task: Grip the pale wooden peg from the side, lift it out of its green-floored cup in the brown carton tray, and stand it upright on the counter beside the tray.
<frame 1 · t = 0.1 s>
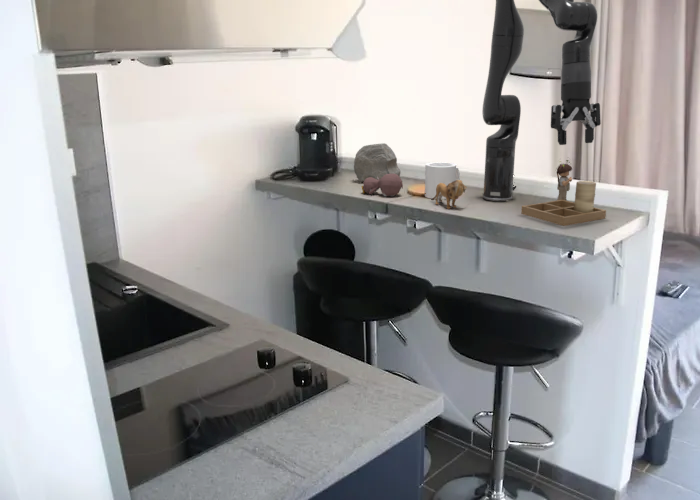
hand: (575, 143, 170), 22 cm above the table, tool pointing down, fingers open, 8 cm apart
mug: (442, 196, 214), on the table
toy: (562, 204, 201), on the table
stone: (376, 183, 236), on the table
lion figurine: (447, 206, 200), on the table
egg tray: (562, 218, 183), on the table
toy 2: (382, 195, 217), on the table
peg: (582, 217, 182), point 1 cm above the table, touching egg tray
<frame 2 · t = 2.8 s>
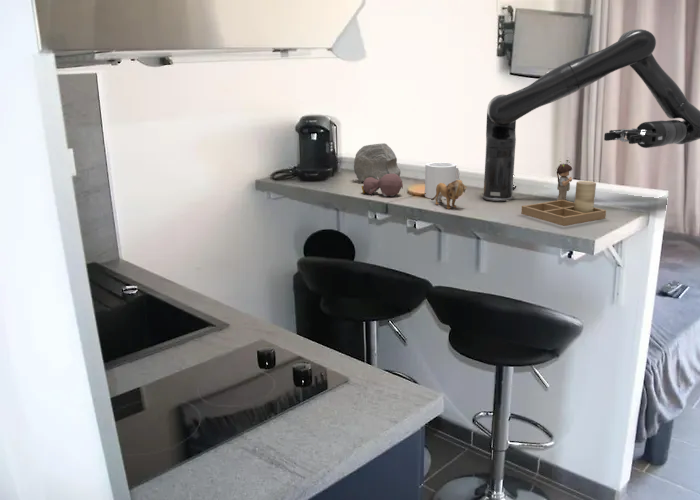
hand: (617, 138, 180), 22 cm above the table, tool horizontal, fingers open, 8 cm apart
nothing on the table moved.
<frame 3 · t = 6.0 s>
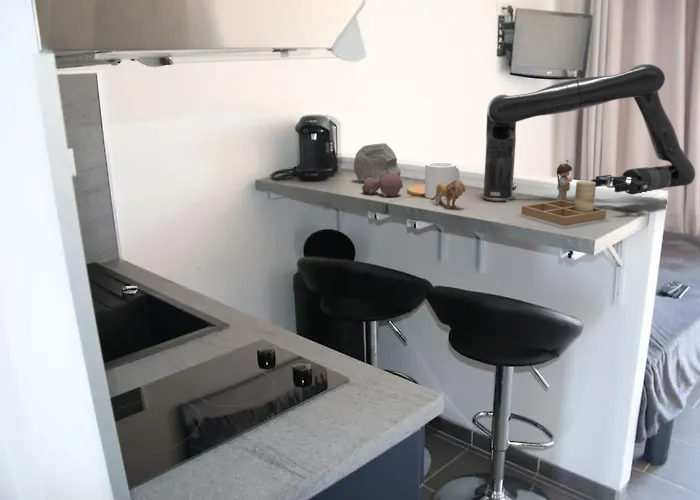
hand: (603, 186, 183), 9 cm above the table, tool horizontal, fingers open, 8 cm apart
nothing on the table moved.
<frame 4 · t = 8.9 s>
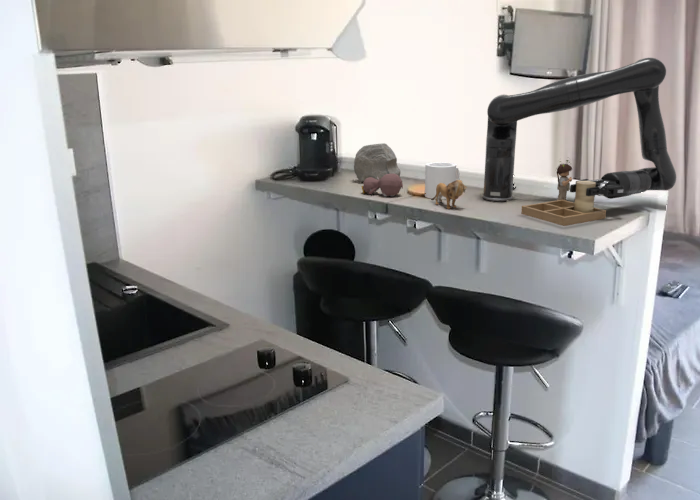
hand: (579, 190, 178), 9 cm above the table, tool horizontal, fingers closed on peg, 5 cm apart
peg: (582, 216, 182), point 1 cm above the table, touching egg tray, gripper
everything else where it was.
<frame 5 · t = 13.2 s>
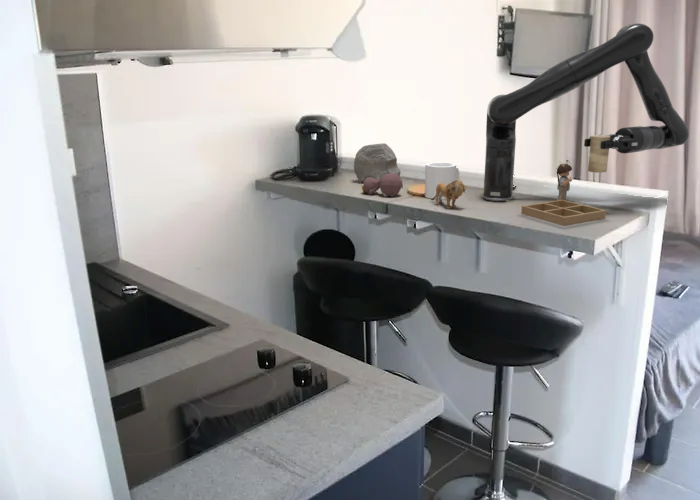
hand: (593, 144, 180), 21 cm above the table, tool horizontal, fingers closed on peg, 5 cm apart
peg: (597, 171, 184), point 13 cm above the table, touching gripper
everything else where it was.
when the fingers open (8 cm above the table, at t = 17.6 s): peg stays where it is, on the table.
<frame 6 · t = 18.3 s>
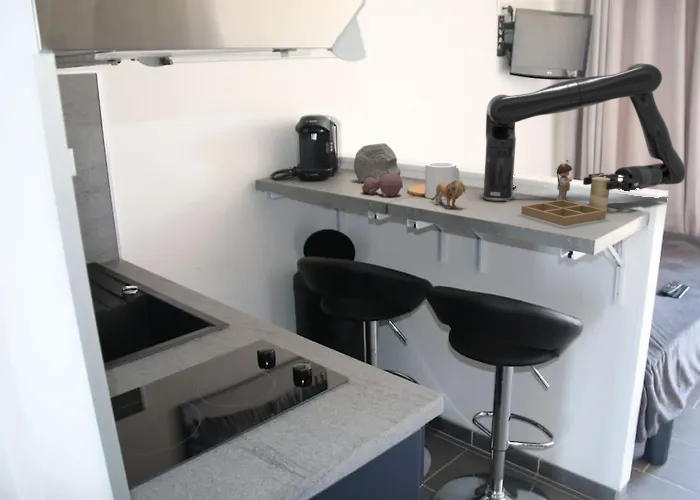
hand: (595, 183, 187), 9 cm above the table, tool horizontal, fingers open, 8 cm apart
peg: (597, 211, 191), on the table
everything else where it was.
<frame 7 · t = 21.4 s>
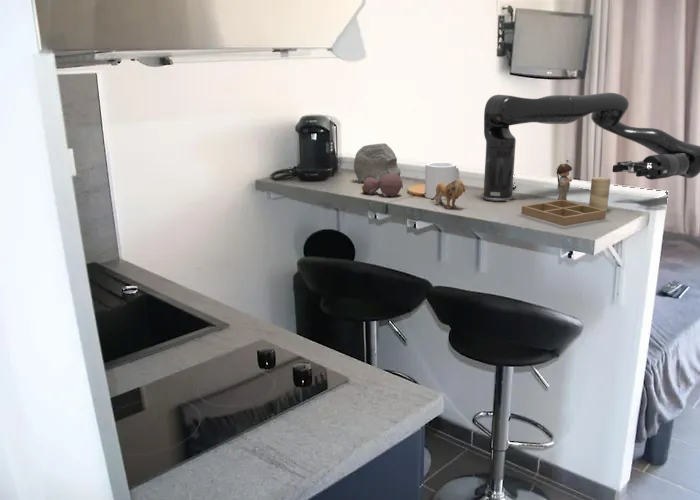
hand: (625, 170, 192), 11 cm above the table, tool horizontal, fingers open, 8 cm apart
nothing on the table moved.
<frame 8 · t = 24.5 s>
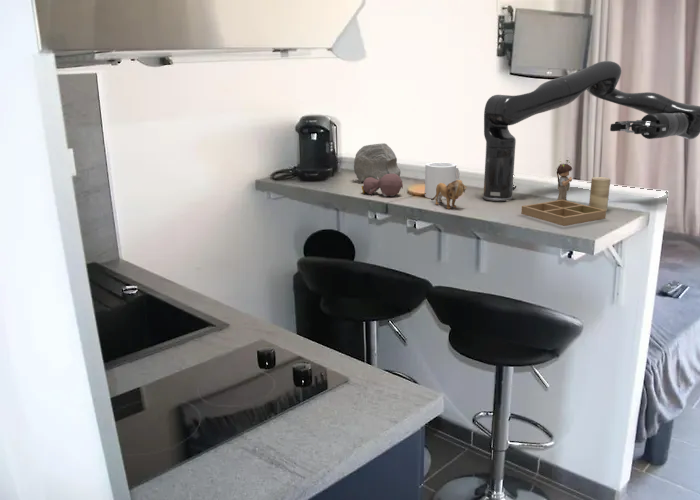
hand: (623, 129, 188), 24 cm above the table, tool horizontal, fingers open, 8 cm apart
nothing on the table moved.
at the end: peg 0.1 cm from the target spot, on the table; peg tilted 0°; peg touching table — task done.
